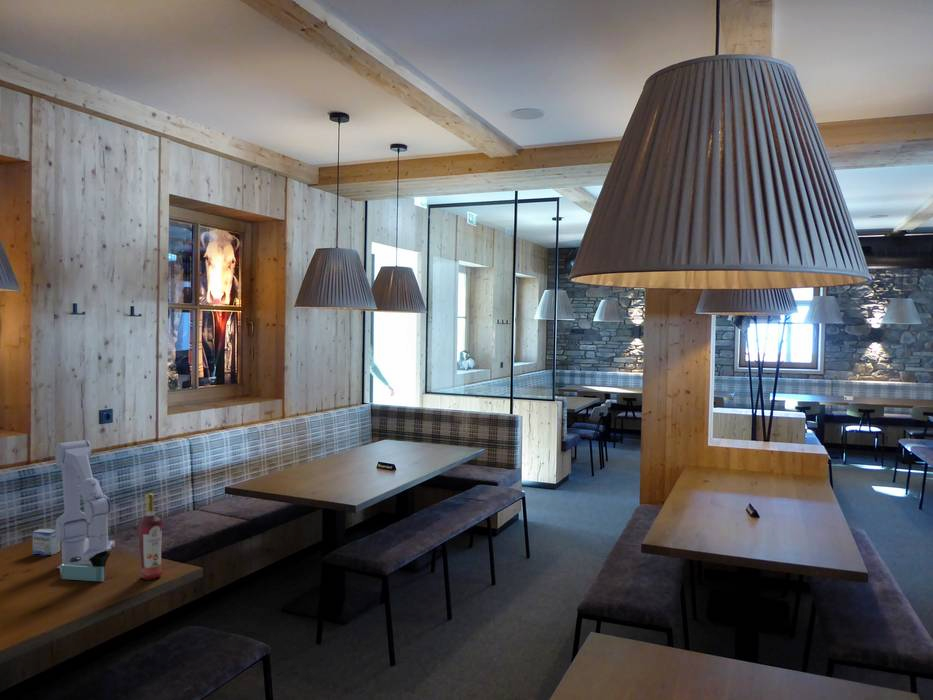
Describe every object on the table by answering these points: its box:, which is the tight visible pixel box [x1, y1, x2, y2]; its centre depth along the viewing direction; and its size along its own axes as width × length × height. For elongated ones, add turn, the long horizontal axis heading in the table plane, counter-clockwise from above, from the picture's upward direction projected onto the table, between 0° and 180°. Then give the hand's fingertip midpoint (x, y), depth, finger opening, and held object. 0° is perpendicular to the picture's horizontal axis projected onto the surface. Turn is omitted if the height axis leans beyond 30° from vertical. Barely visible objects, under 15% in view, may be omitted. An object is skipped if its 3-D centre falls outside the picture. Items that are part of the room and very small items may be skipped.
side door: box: [59, 563, 105, 582], centre depth 224 cm, size 16×2×5 cm, turn 81°
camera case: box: [64, 557, 93, 566], centre depth 230 cm, size 7×9×5 cm
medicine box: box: [32, 528, 61, 556], centre depth 251 cm, size 8×4×9 cm, turn 81°
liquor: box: [137, 493, 163, 580], centre depth 226 cm, size 7×7×28 cm
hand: (99, 574), depth 225 cm, fingers closed
